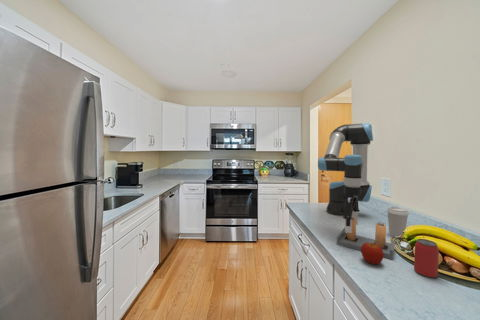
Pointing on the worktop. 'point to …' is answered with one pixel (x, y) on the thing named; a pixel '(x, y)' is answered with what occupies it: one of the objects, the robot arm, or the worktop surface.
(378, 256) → the apple
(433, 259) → the beer can
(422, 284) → the worktop surface
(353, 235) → the peg
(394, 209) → the coffee cup
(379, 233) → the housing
